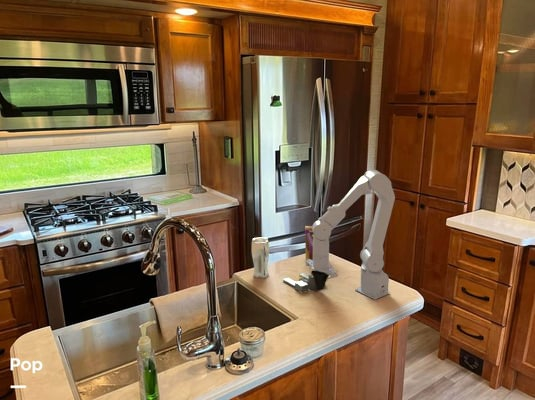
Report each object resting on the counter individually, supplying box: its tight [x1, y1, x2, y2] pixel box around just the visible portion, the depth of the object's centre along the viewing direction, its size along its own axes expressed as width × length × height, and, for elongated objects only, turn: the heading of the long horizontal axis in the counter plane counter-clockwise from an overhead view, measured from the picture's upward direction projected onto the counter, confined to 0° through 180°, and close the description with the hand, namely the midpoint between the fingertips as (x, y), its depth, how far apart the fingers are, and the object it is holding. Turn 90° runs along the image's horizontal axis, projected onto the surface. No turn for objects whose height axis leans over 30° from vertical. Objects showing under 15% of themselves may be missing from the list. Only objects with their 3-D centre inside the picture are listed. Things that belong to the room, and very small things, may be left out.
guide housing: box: [282, 272, 310, 294], centre depth 154 cm, size 12×11×3 cm
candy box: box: [304, 225, 314, 261], centre depth 175 cm, size 9×4×15 cm, turn 85°
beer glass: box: [251, 237, 270, 279], centre depth 161 cm, size 7×7×15 cm
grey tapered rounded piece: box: [298, 274, 319, 292], centre depth 151 cm, size 10×4×5 cm, turn 34°
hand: (320, 289), depth 146 cm, fingers closed
